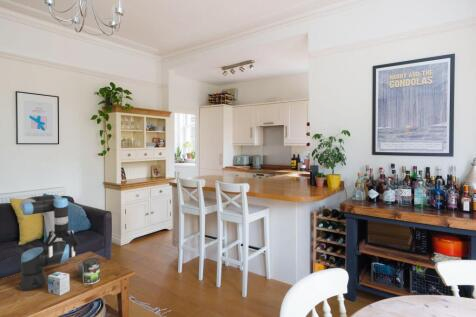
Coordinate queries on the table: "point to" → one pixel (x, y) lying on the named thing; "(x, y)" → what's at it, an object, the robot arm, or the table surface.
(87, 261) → the coffee can
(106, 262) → the table surface
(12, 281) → the table surface
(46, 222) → the robot arm
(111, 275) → the table surface
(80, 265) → the grey domed cylinder
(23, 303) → the table surface
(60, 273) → the light bulb box
